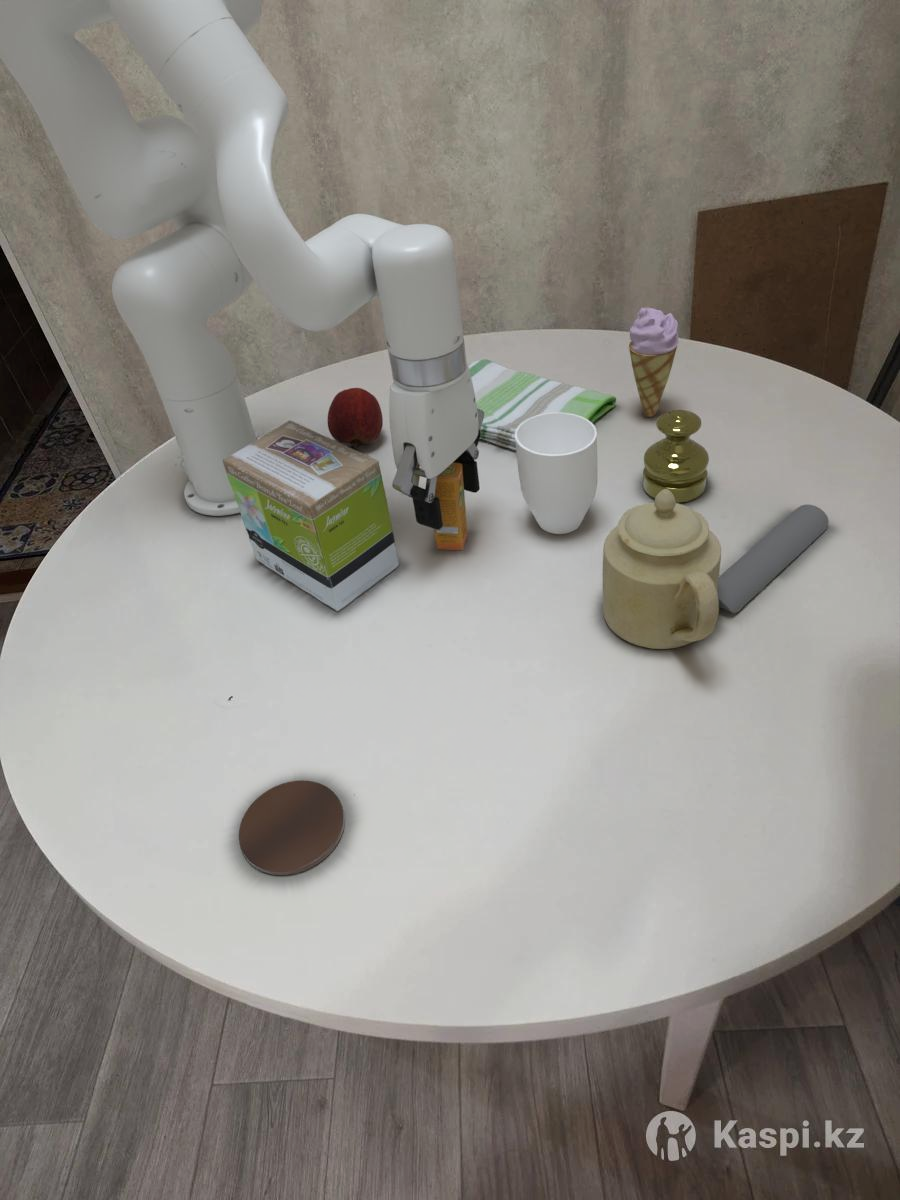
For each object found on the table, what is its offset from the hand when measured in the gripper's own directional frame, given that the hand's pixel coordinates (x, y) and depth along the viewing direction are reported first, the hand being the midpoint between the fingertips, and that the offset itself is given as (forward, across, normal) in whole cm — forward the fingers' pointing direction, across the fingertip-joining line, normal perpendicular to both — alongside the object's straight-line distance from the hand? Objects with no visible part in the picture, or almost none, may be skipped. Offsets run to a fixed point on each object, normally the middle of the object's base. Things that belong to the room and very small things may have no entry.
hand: (448, 505), depth 97 cm
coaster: (+5, +39, +9) cm, 40 cm away
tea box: (+5, +10, -11) cm, 16 cm away
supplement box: (+5, 0, 0) cm, 5 cm away
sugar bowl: (+5, +1, +27) cm, 28 cm away
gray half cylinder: (+5, -11, +32) cm, 35 cm away
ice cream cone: (+5, -35, +9) cm, 37 cm away
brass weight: (+5, -20, +18) cm, 28 cm away
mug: (+5, -10, +9) cm, 14 cm away
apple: (+5, -13, -24) cm, 28 cm away
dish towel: (+5, -28, -8) cm, 30 cm away
